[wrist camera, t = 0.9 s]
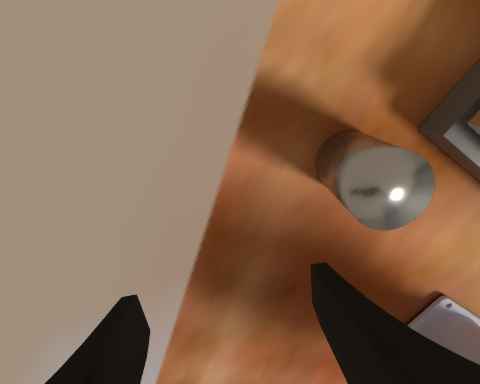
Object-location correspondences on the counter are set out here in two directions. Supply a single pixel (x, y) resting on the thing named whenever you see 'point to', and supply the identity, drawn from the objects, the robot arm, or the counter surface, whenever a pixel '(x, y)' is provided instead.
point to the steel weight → (375, 179)
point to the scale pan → (475, 122)
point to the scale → (458, 123)
